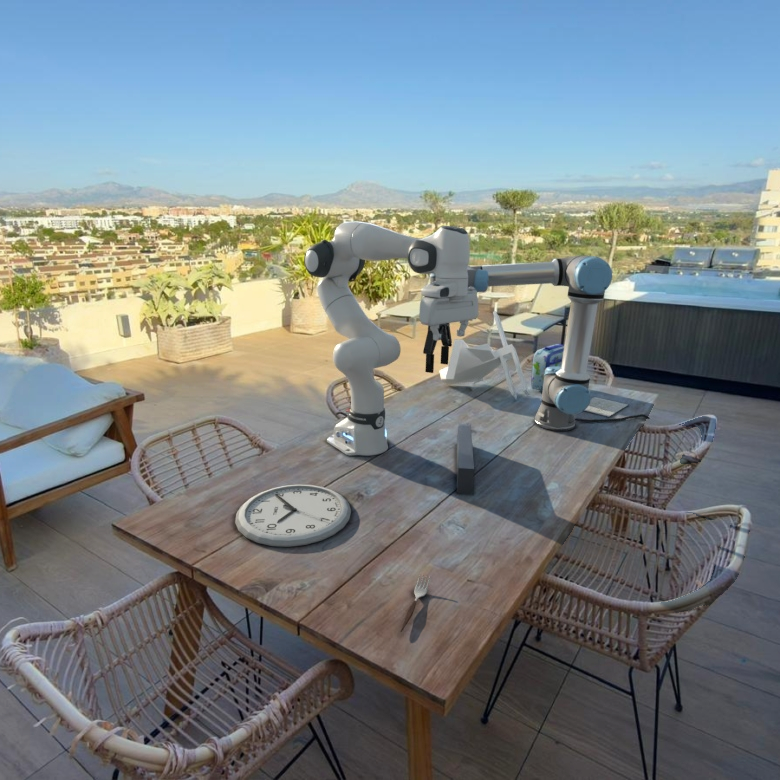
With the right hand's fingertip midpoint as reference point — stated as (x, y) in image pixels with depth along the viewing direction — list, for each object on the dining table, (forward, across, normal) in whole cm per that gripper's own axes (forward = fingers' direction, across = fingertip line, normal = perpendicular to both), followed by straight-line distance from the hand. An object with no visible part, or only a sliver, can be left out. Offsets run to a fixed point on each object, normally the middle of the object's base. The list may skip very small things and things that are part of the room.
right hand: (437, 368), depth 187 cm
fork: (+25, +88, +33) cm, 97 cm away
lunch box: (+25, -81, +26) cm, 89 cm away
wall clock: (+25, +71, -10) cm, 76 cm away
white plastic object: (+25, -57, -2) cm, 62 cm away
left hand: (-18, +32, +16) cm, 40 cm away
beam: (+25, +21, +20) cm, 38 cm away
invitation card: (+25, -64, +51) cm, 86 cm away
